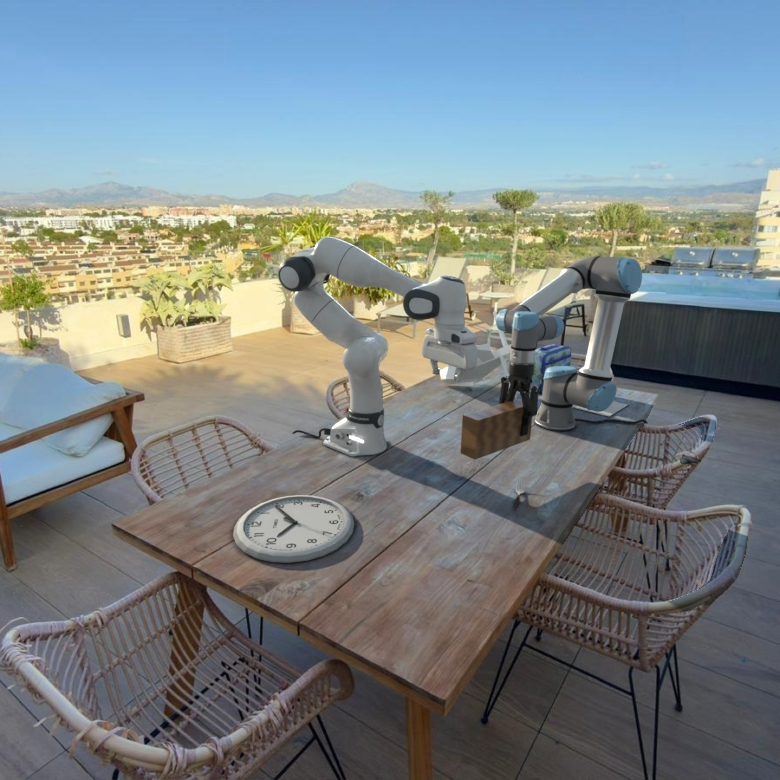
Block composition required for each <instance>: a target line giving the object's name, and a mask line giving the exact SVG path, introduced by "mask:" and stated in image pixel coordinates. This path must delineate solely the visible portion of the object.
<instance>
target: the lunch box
mask: <svg viewBox="0 0 780 780" xmlns="http://www.w3.org/2000/svg"><path fill="white" fill-rule="evenodd" d="M571 361H572V348H571V347H570V346H567V345H566V346H565V345H561V344H556V343H555V344H554V343H553V344H548V345H545V346H541V347H539V348H536V352H535V362H533V364H534V372H533V376H532V381H533V383H534V384H535V385H540V389H539V392H538V393H540V394H542V391H543V381H544V379H543V378H544V375H545V371H546V369H547V368H549V367H555V366H571ZM530 389H531V387H530V388H529V390H530ZM530 391H531V390H530Z"/></svg>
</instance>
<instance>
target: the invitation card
mask: <svg viewBox="0 0 780 780" xmlns="http://www.w3.org/2000/svg"><path fill="white" fill-rule="evenodd" d="M628 406H629V404H627V403H623V402H618V401H614V400H613V402H612V403H611V405H610V406H609V407H608V408H607V409H605V410H604V411H601V412H596V411H593V410H588V409H586V408H583V407H579V406H576V405H575V406H574V407H573V409H575V410H581V411H584V412H587V413H593V414H596V415H600V416H604V417H608V418H609V417H611V416H613V415H614V414H616V413H617V412H619V411H621V410H623V409H624V408H626V407H628Z"/></svg>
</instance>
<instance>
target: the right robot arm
mask: <svg viewBox="0 0 780 780" xmlns="http://www.w3.org/2000/svg"><path fill="white" fill-rule="evenodd" d="M642 281H643V269H642V267H641V265H640V262H639V261H638V260H637V259H636V258H631V257H625V256H602V255H592V256H587V257H585V258H582V259H579V260H577V261H576V262H574V263H572V264H570V265H568V266H567V267H565V268H564V269H562V270H561V272H560V273H559V275H558V276H557V277H556V278H554V279H552V280H551V281H550V282H549V283H548V284H546V285H545V286H543V287H542V288H541V289H539V290H538V291H536V292H534V294H532V295H530V296H529V297H528V298H526V299H525V300H524V301H523V302H521V303H520V304H518V305H517V306H515V307H513V308H512V309H511V308H504V309H500V311H499V312H497V314H498V315H497V317H496V321H495V324H496V325H495V326H496V328H497V330H498V329H499V330H501V331H504V333H507V334H511V343H510V344H511V352H510V360H509V363H508V368H509V376H505V375H504V376H501V377H500V382H501V383H500V384H501V386H500V392H499V399H498V405H499V404H502V403H506V402H509V401H513V400H515V395H517V392H518V393H519V396H520V397H521V400H522V403H523V410H524V416H522V423H521V433H520V436H524V435H527V434H528V426H530V423H531V417H532V418H533V417H534V424H535V425H536V426H537V427H539V428H542V429H544V430H549V431H556V432H567V431H572V430H574V429H575V428H576V422H581V423H586V424H601V423H609V422H611V423H620V424H626V425H637V424H639V423H644V424H646V425H647V424H648V421H647V420H646V419H643V418H641V419H638V420H635V421H630V420H628V421H627V420H621V419H614V418H613V419H612V418H606V419H600V420H589V419H585V418H584V419H582V418H577V417H576V416H575V413H574V407H573V406H575V407H576V406H579V407H583V408H586V409H588V410H593V411H596V412H601V411H604V410H605V409H607V408H608V407H609V406H610V405H611V403H612V402H613V401H614V400H615V398H616V395H617V391H618V390H617V389H618V388H617V384H616V383H614V381H612V380H613V374H612V373H611V372H610V371H611V370H610V369H611V365H612V360H613V356H614V352H615V346H616V342H617V337H618V333H619V329H620V324H621V320H622V315H623V312H624V306H625V303H627V302H628V301H629V300H631V297H632V295H634V294H636V293H637V292H639V289H640V288H641V286H642ZM582 290H595V292H594V296H595V298H596V300H597V303H596V308H595V313H594V318H593V323H592V327H591V333H590V336H589V341H588V347H587V351H586V356H585V360H584V364H583V366H582V367H581V368H580V369H578V368H577V367H576V366H571V365H570V366H555V367H549V368H547V369H546V371H545V375H544V378H543V379H544V381H543V391H542V393H541V402H540V405H539V393H540V392H539V389H540V385H535V384H534V383H533V381H532V376H533V372H534V364H533V362H535V352H536V349H537V343H538V342H543V341H549V340H550V341H551V340H554V339H557V338H559V337H561V335H563V333H564V330H565V323H564V321H563V319H562V318H561V317H560V316H559V315H556V314H553V315H552V314H548V315H544V314H546V313H547V312H549V311H551V309H553V308H554V307H555V306H557V305H558V304H559V303H561V302H562V301H564V300H565V299H566V298H568V297H569V296H570V295H572V294H578V293H579V292H580V291H582ZM509 382H510V384H511V385H510V387H509ZM530 387H531V389H530V390H529V388H530ZM525 391H526V392H525ZM529 394H530V395H529ZM538 405H539V406H538ZM575 417H576V418H575Z"/></svg>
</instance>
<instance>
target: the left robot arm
mask: <svg viewBox="0 0 780 780" xmlns="http://www.w3.org/2000/svg"><path fill="white" fill-rule="evenodd" d="M331 276H332V277H334V278H335V279H337V280H339V281H341V282H343V283H344V284H347V285H350V286H352V287H356V288H381V289H384V290H388V291H391V292H392V293H395V294H396V295H398V296H400V297H403V301H402V308H403V311H404V313H405V314H406V316H408V318H410V319H412V320H415V321H424V320H430V319H433V320H434V328H432V327H429V328H427V329H426V330H425V331H424V337H423V341H422V348H421V356H422V357H423V358H424V359H427V360H430V361H429V363H430V366H431V368H432V374H433V375H436V376H438V375H439V376H440V370H441V368H440V367H439V365H438V363H442V364H445V365H448V366H449V365H451V366H454V367H457V371H459V372H458V374H457V375H455V376H454V378H455V379H454V381H456V382H461V381H462V376H463V374H464V373H465V371H466V370H471V369H474V368H475V367H476V365H477V346H478V345H477V344H476V343H477V342H478V337H479V336H478V335H477V334H476V333H474V332H473V331H472V330H470V329H469V328H468V327H466V320H465V312H466V310H467V309H466V308H467V287H466V284H465V282H464V281H463V280H462V279H461V278H458V277H456V276H451V275H440V276H439V277H438V278H436V279H434V280H433V281H431V282H423V281H419V280H416V279H414V278H412V277H410V276H408V275H406V274H404V273H401V272H400V271H398V270H395V269H393V268H391V267H390V266H388V265H387V264H384V263H383V262H382V261H379V260H378V259H377V258H375V257H374V256H373V255H371V254H369V253H368V252H366V251H364V250H362V248H359V247H357V246H356V245H353V243H349V242H347V241H344V240H342V239H340V238H336V237H333V236H324V237H321V238H320V239H318V241H317V242H316V244H315V245H312V246H309V247H308V248H304V249H302V250H299V251H298V252H296V253H294V254H293V255H292V256H289V257H287V258H286V259H284V260H283V261H282V262H281V264H280V265H279V267H278V269H277V277H278V281H279V283H280V285H282V287H283V288H284V289H285V290H287V291H289V292H293V293H294V294H293V297H292V298H293V304H294V305H295V307H296V309H298V311H299V313H301V315H302V316H303V317H304V318H305V319H306V320H307V321H308V322H309V323H310V324H311V325H312V326H313V327H314V328H315V329H316V330H317V331H318V332H319V333H320V334H321V335H322V336H324V338H326V339H327V340H328V341H330V342H331V343H333V344H337V345H338V346H341V347H342V348H343V349H344V352H343V353H342V359H341V360H342V365H343V367H344V369H345V370H346V374H347V379H348V384H349V406H348V407H347V408H346V409H343V414H346V415H345V417H343V418H341V419H340V420H339V421H337V422H336V423H334V422H330V423H329V424H328V425H326V426H325V427H322V428H320V429H319V431H318V435H316V434H313V433H311V432H306V431H304V430H301V429H296V430H294V431H292V432H291V434H292V435H295V434H296V433H299V434H304V435H306V436H307V435H308V436H309V437H312V438H314V439H320V438H321V437H322V432H323V435H326V436H327V437H326V438H324V440H323V441H322V442H323V444H322V445H323V446H325V447H327V448H330V449H332V450H335V451H338V452H339V453H342V454H344V455H347V456H348V457H359V456H372V455H377V454H381V453H384V451H386V450H387V448H388V445H387V444H388V443H387V441H386V437H385V430H384V424H385V408H384V385H383V384H382V379H381V374H380V366H381V363H382V362H383V361H385V359H386V358H387V355H388V351H389V342H388V340H387V338H386V337H385V335H383V334H381V333H379V332H377V331H375V330H374V329H372V328H371V327H369V326H368V325H366V324H365V323H363V322H362V321H361V320H359V319H357V318H356V317H355V316H353V315H352V314H351V313H350V312H349V311H348V310H347V309H346V308H345V307H343V305H342V304H340V303H339V302H338V301H337V300H336V299H335V298H334V297H333V296H332V295H331V294H329V293H328V292H327V290H326V289H325V284H328V283H329V280H330V277H331Z"/></svg>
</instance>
